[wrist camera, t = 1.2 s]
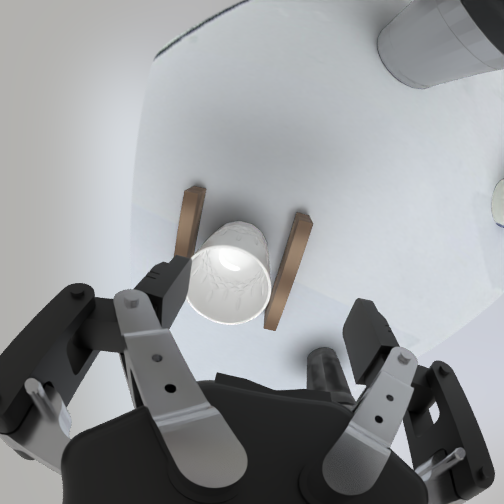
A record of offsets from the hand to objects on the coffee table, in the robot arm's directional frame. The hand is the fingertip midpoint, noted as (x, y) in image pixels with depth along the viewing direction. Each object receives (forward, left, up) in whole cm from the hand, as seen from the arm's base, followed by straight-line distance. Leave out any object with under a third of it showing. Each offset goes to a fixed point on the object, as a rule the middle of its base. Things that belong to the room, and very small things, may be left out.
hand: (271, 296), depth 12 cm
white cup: (+6, -3, -20) cm, 21 cm away
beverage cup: (+20, +13, -20) cm, 31 cm away
